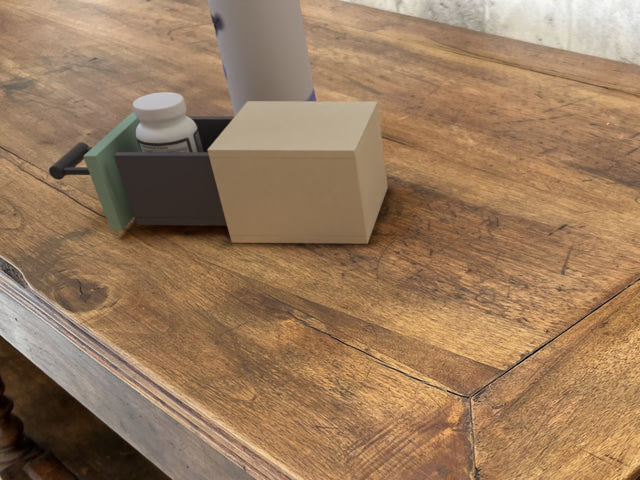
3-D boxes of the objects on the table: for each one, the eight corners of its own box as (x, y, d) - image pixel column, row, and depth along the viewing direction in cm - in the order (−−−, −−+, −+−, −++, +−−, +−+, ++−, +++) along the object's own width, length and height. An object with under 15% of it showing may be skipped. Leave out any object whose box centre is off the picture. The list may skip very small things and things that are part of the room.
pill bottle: (175, 181, 85) (147, 88, 79) (224, 186, 84) (200, 91, 78) (145, 205, 81) (113, 108, 75) (196, 210, 80) (169, 112, 74)
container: (236, 127, 102) (195, -46, 90) (314, 116, 105) (285, -54, 92) (244, 157, 95) (201, -28, 83) (328, 144, 98) (298, -37, 85)
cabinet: (231, 242, 79) (207, 149, 73) (266, 187, 89) (247, 101, 83) (367, 244, 78) (354, 150, 72) (387, 187, 88) (377, 101, 82)
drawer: (54, 230, 79) (23, 155, 74) (103, 181, 88) (79, 111, 83) (234, 231, 79) (215, 156, 74) (266, 182, 88) (250, 111, 83)
